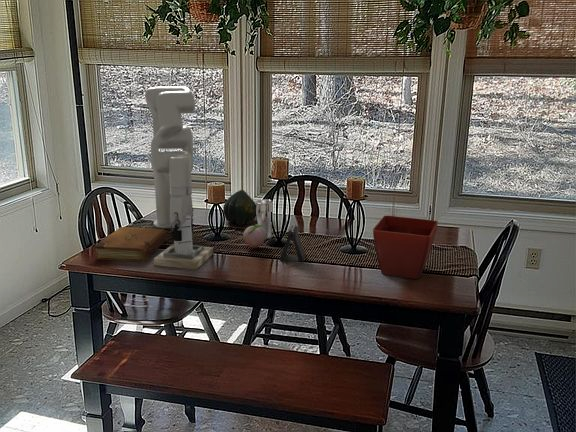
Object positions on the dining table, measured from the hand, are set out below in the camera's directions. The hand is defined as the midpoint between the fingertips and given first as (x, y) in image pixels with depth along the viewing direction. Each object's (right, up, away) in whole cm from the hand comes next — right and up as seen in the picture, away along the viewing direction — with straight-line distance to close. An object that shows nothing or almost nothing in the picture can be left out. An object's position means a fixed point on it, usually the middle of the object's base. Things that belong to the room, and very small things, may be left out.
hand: (183, 236), depth 210 cm
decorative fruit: (+25, -5, +14) cm, 29 cm away
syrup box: (0, -6, +2) cm, 6 cm away
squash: (+17, +4, +46) cm, 49 cm away
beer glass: (+28, -1, +27) cm, 39 cm away
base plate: (0, -8, +3) cm, 9 cm away
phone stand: (+40, -9, +4) cm, 41 cm away
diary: (-21, -6, +12) cm, 25 cm away
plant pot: (+78, -12, -6) cm, 79 cm away
